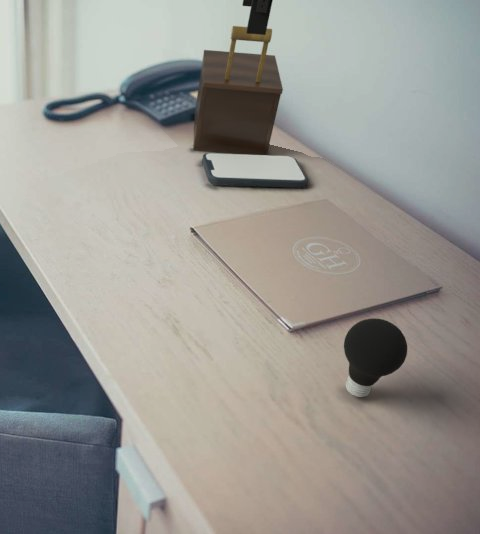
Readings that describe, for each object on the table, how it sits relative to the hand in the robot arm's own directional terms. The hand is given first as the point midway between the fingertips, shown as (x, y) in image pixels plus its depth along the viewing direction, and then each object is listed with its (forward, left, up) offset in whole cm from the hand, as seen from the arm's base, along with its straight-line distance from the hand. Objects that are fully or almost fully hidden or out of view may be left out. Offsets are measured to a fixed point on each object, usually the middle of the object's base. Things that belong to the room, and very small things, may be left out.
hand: (253, 19), depth 99 cm
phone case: (-4, +8, -23) cm, 24 cm away
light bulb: (-12, +54, -23) cm, 60 cm away
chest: (0, -6, -22) cm, 23 cm away
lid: (0, -5, -11) cm, 12 cm away
